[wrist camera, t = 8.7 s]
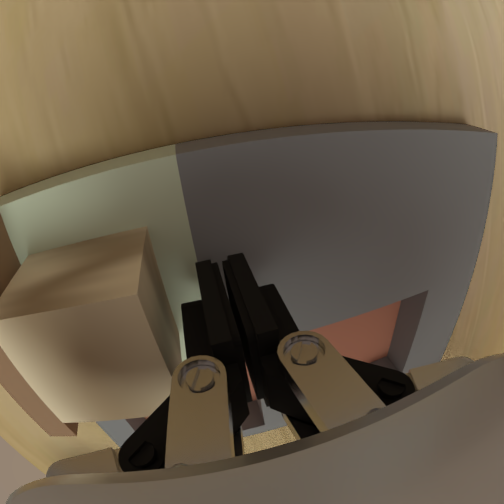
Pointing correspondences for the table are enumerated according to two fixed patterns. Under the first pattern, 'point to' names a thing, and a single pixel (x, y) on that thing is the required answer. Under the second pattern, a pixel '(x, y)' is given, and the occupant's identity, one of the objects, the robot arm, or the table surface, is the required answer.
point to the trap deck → (285, 233)
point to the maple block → (93, 328)
